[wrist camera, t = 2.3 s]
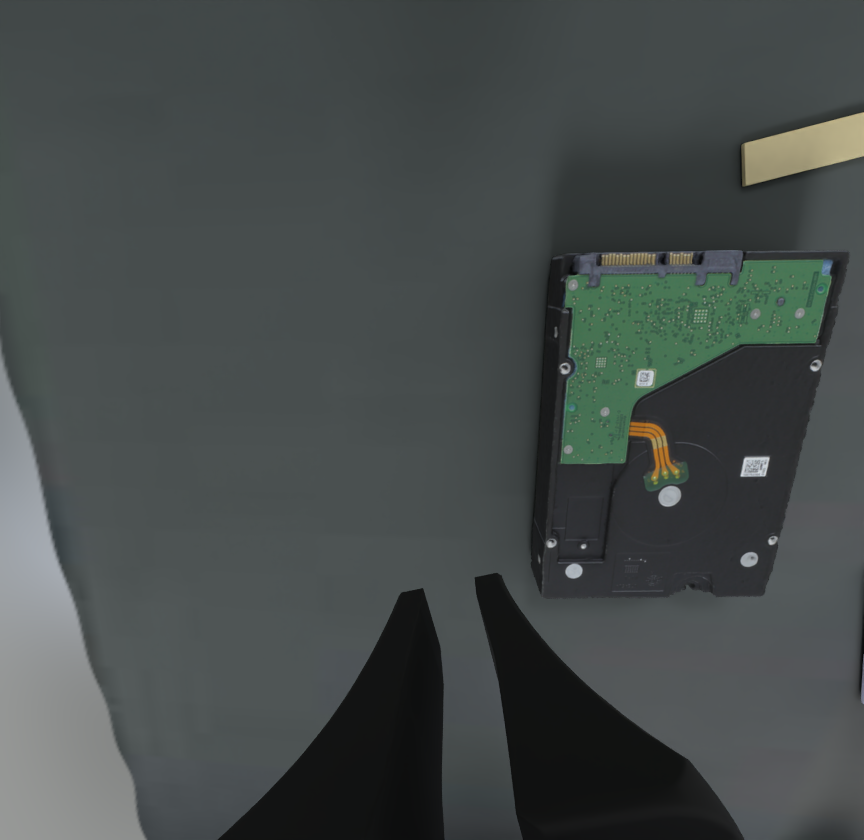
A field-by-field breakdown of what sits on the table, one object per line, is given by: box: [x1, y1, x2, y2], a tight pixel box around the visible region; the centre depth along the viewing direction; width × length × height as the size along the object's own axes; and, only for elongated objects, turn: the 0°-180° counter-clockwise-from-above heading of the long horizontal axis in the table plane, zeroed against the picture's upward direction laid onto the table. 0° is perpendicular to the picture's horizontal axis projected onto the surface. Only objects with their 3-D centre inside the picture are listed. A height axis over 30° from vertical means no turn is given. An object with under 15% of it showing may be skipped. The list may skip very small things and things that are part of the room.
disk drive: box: [531, 250, 850, 599], centre depth 19 cm, size 10×3×15 cm
